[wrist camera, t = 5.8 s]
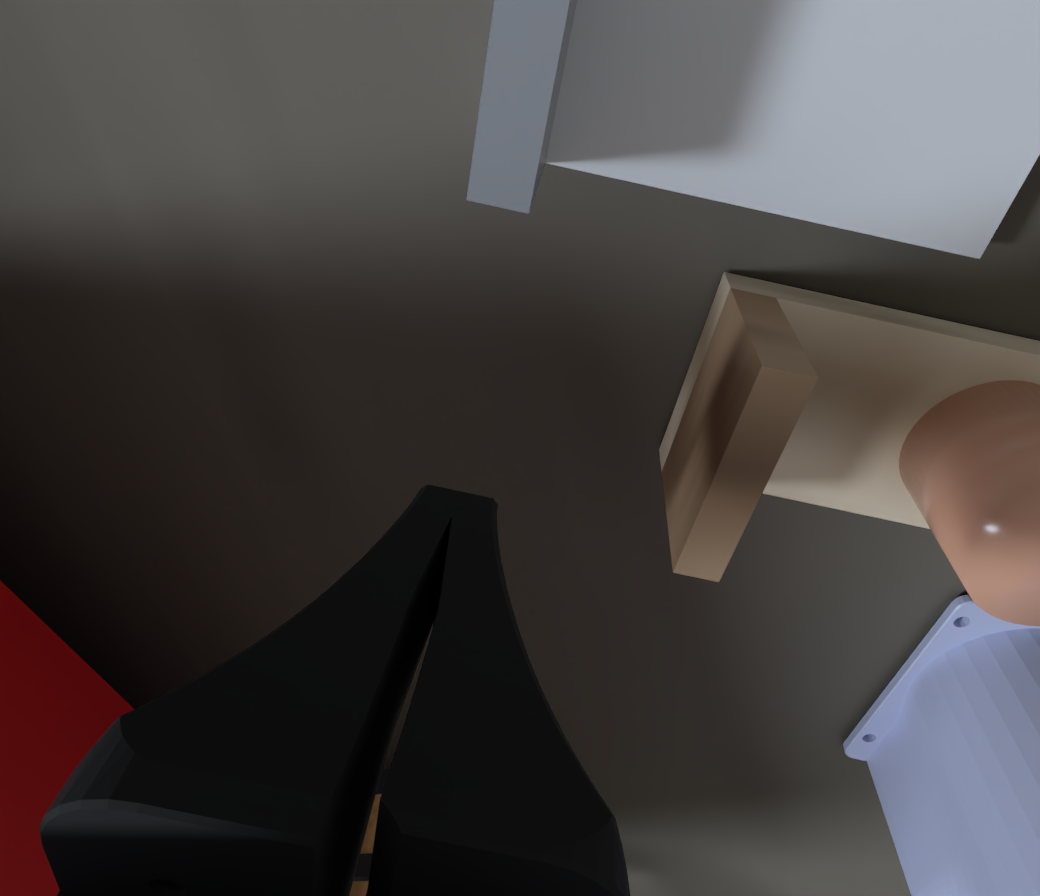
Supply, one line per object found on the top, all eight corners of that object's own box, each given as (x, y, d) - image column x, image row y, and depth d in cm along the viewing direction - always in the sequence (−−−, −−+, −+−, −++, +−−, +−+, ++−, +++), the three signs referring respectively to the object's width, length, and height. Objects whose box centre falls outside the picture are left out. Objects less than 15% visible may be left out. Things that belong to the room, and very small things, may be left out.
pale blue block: (958, 243, 18) (1080, 335, 14) (502, 142, 18) (466, 199, 13) (1111, -34, 15) (1342, -39, 10) (552, -164, 15) (527, -230, 10)
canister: (1015, 526, 21) (1101, 642, 18) (871, 494, 21) (927, 605, 18) (1112, 399, 19) (1237, 504, 15) (949, 364, 19) (1035, 460, 15)
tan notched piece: (1021, 527, 23) (1128, 668, 18) (658, 449, 23) (672, 572, 18) (1148, 364, 19) (1319, 486, 15) (724, 271, 19) (761, 365, 15)
